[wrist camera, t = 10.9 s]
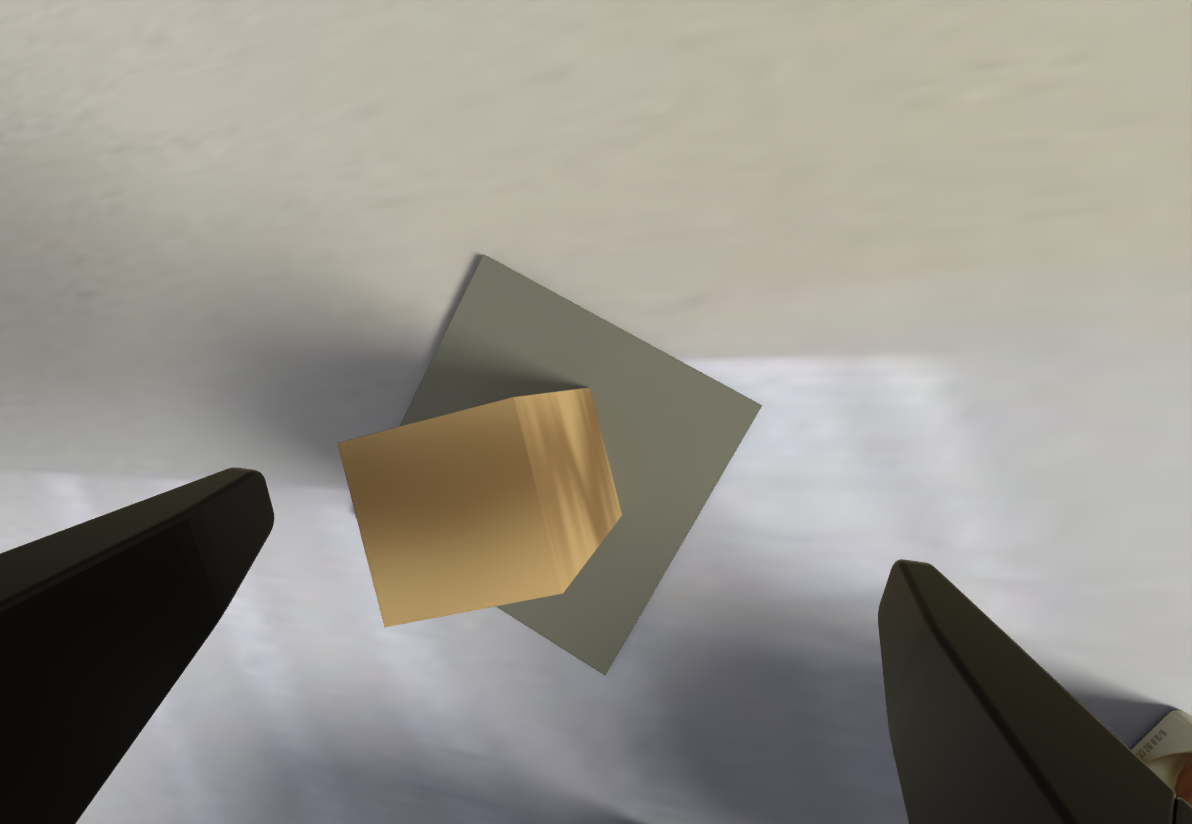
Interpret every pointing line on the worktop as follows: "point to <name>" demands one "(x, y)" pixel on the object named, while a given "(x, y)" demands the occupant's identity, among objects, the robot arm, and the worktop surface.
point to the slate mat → (629, 429)
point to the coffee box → (1170, 752)
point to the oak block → (481, 504)
